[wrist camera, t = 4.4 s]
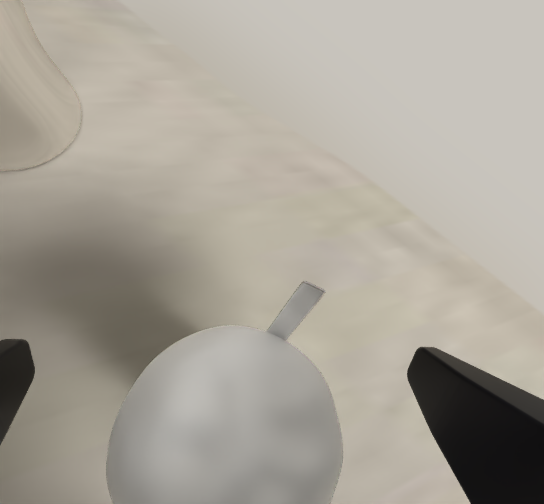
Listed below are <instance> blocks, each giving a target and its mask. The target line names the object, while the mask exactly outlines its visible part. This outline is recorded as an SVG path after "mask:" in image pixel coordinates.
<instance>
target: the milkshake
mask: <svg viewBox="0 0 544 504" xmlns="http://www.w3.org/2000/svg"><path fill="white" fill-rule="evenodd" d="M324 294H325V290H324V289H322V288H320V287H318V286H316V285H314V284H312V283H310V282H307V281H303V282H302V283H301V284H300V285H299V287H298V288H297V289H296V291H295V292H294V293H293V295H292V296H291V298H290V299H289V300H288V302H287V303H286V305H285V306H284V307H283V309H282V310H281V312H280V313H279V314H278V316H277V317H276V319H275V320H274V321H273V323H272V324H271V326H270V327H269V328H268V330H267V331H264V330H261V329H257V328H253V327H247V326H239V325H225V326H217V327H212V328H208V329H205V330H202V331H199V332H196V333H194V334H191V335H189V336H187V337H185V338H183V339H181V340H179V341H177V342H176V343H174V344H172V345H171V346H169V347H168V348H167V349H165V350H164V351H163V352H161V353H160V354H159V355H158V356H157V357H155V358H154V359H153V360H152V361H151V362H150V363H149V365H148V366H147V367H146V368H145V369H144V371H143V372H142V373H141V374H140V376H139V377H138V379H137V380H136V381H135V383H134V384H133V386H132V388H131V389H130V391H129V392H128V394H127V396H126V398H125V399H124V401H123V403H122V405H121V407H120V409H119V412H118V414H117V416H116V419H115V422H114V425H113V428H112V432H111V436H110V440H109V445H108V452H107V461H106V476H107V484H108V489H109V492H110V496H111V499H112V501H113V504H330V502H331V499H332V497H333V494H334V491H335V488H336V485H337V482H338V479H339V475H340V472H341V467H342V461H343V443H342V435H341V429H340V425H339V421H338V417H337V413H336V409H335V405H334V401H333V398H332V395H331V392H330V389H329V387H328V385H327V383H326V381H325V379H324V377H323V375H322V374H321V372H320V371H319V369H318V368H317V367H316V365H315V364H314V363H313V362H312V361H311V360H310V359H309V358H308V357H307V356H306V355H305V354H304V353H303V352H301V351H300V350H299V349H298V348H296V347H295V346H294V345H292V344H291V343H289V342H288V341H286V339H287V338H288V337H289V336H290V335H291V334H292V332H293V331H294V330H295V329H296V328H297V326H298V325H299V324H300V323H301V322H302V321H303V319H304V318H305V317H306V316H307V315H308V313H309V312H310V311H311V310H312V309H313V308H314V306H315V305H316V304H317V303H318V302H319V300H320V299H321V298H322V297H323V296H324Z"/></svg>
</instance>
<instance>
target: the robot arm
mask: <svg viewBox="0 0 544 504" xmlns="http://www.w3.org/2000/svg"><path fill="white" fill-rule="evenodd" d="M34 373H35V367H34V363H33V359H32V355H31V351H30V347H29V344H28V342H27V341H26V340H23V339H5V340H1V341H0V445H1V443H2V441H3V439H4V437H5V435H6V433H7V431H8V429H9V427H10V425H11V423H12V421H13V419H14V417H15V415H16V413H17V411H18V409H19V407H20V405H21V403H22V401H23V399H24V397H25V395H26V393H27V391H28V389H29V387H30V385H31V383H32V381H33V378H34ZM407 377H408V381H409V384H410V386H411V388H412V390H413V393H414V395H415V397H416V399H417V402H418V404H419V406H420V409H421V411H422V413H423V415H424V418H425V420H426V422H427V424H428V426H429V429H430V431H431V433H432V435H433V437H434V438H435V440H436V442H437V444H438V446H439V448H440V449H441V451H442V453H443V455H444V457H445V458H446V460H447V462H448V464H449V465H450V467H451V469H452V471H453V473H454V474H455V476H456V478H457V480H458V482H459V483H460V485H461V487H462V489H463V490H464V492H465V494H466V496H467V498H468V499H469V501H470V503H471V504H544V400H543V399H541V398H539V397H536V396H534V395H532V394H530V393H528V392H526V391H524V390H522V389H520V388H518V387H516V386H514V385H512V384H510V383H507V382H505V381H503V380H501V379H499V378H497V377H495V376H493V375H491V374H489V373H487V372H485V371H483V370H480V369H478V368H476V367H474V366H472V365H470V364H468V363H466V362H464V361H462V360H460V359H458V358H456V357H454V356H451V355H449V354H447V353H445V352H443V351H441V350H439V349H437V348H434V347H420V348H418V349H417V350H416V352H415V354H414V356H413V359H412V361H411V363H410V365H409V368H408V371H407Z"/></svg>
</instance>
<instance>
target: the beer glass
mask: <svg viewBox="0 0 544 504" xmlns="http://www.w3.org/2000/svg"><path fill="white" fill-rule="evenodd" d="M81 120H82V109H81V104H80V100H79V98H78V95H77V93H76V92H75V90H74V88H73V86H72V85H71V84H70V82H69V81H68V80H67V78H66V77H65V76H64V74H63V73H62V72H61V71H60V69H59V68H58V67H57V66H56V64H55V63H54V62H53V61H52V59H51V58H50V57H49V55H48V54H47V53H46V51H45V50H44V48H43V46H42V45H41V43H40V41H39V40H38V38H37V36H36V34H35V32H34V29H33V27H32V25H31V23H30V21H29V18H28V16H27V13H26V10H25V7H24V4H23V1H22V0H0V171H14V170H22V169H27V168H31V167H34V166H37V165H40V164H43V163H45V162H47V161H49V160H51V159H53V158H54V157H56V156H58V155H59V154H60V153H62V152H63V151H64V150H65V149H66V148H67V147H68V146H69V145H70V144H71V143H72V141H73V140H74V138H75V137H76V135H77V133H78V131H79V128H80V125H81Z"/></svg>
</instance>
